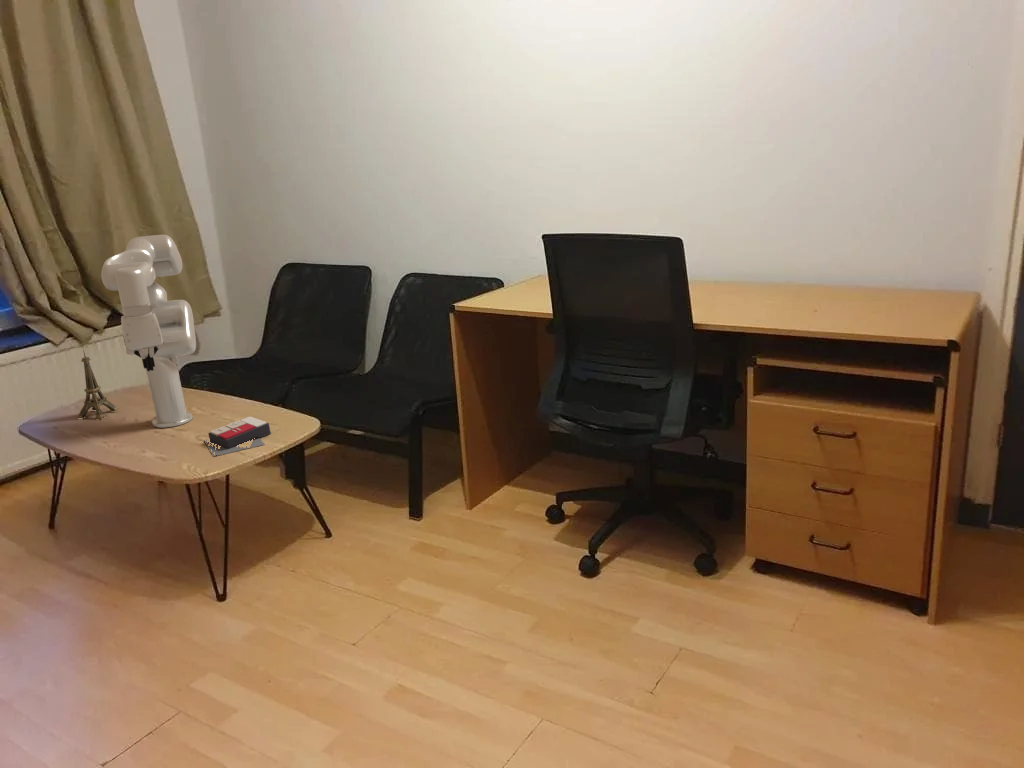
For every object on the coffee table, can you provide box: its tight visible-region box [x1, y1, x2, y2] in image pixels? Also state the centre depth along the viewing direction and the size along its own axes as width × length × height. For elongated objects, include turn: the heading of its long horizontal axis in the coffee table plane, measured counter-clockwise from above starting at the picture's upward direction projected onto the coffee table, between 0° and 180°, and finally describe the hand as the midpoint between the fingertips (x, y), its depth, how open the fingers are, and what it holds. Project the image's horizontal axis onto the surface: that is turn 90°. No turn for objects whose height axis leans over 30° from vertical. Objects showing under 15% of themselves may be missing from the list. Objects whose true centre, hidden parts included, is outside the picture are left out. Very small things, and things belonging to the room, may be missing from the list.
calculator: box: [207, 416, 272, 449], centre depth 249 cm, size 11×4×15 cm
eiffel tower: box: [76, 346, 119, 420], centre depth 278 cm, size 11×11×25 cm
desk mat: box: [203, 437, 265, 458], centre depth 246 cm, size 16×15×1 cm
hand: (150, 369), depth 239 cm, fingers closed
